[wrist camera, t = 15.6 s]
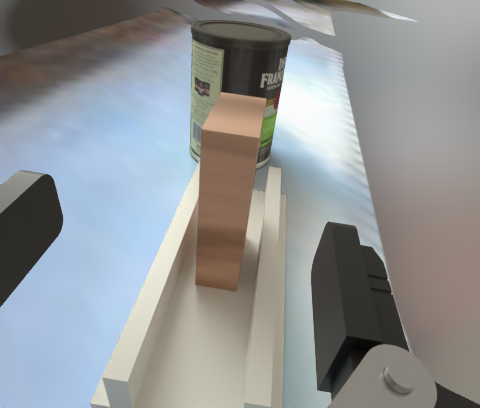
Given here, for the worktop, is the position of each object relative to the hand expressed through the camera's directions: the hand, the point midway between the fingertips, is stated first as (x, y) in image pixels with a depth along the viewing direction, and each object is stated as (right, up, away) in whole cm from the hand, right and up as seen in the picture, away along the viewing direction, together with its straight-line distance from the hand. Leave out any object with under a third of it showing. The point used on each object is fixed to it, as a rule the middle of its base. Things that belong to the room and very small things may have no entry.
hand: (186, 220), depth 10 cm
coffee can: (0, +7, +34) cm, 34 cm away
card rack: (0, -5, +17) cm, 18 cm away
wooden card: (0, -4, +17) cm, 17 cm away
